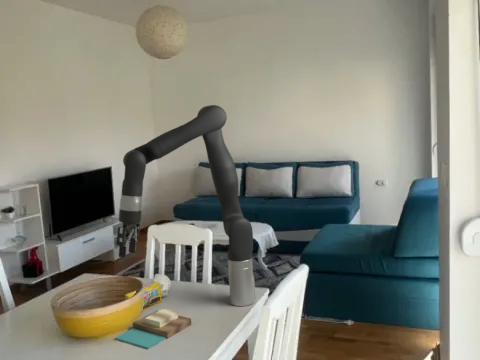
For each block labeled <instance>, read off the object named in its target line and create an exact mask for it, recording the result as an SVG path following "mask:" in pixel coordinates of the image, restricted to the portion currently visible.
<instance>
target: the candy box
mask: <svg viewBox="0 0 480 360" xmlns="http://www.w3.org/2000/svg"><path fill="white" fill-rule="evenodd" d="M143 288H144V306H143V311H145V310H148V309H150V308H153V307H154V306H156V305H158V304H160V303H162V297H161V285H160V283H159V282H156V283H154V284H151V283H150V284H149V285H146V286H144V287H143ZM135 293H136V290H134V291H131V292H128V293H126V294H125V295H124V296H125V297H124V298H125V300H126V299H128V298H130V297H132V296H133V295H134V294H135Z"/></svg>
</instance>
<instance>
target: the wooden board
mask: <svg viewBox="0 0 480 360" xmlns="http://www.w3.org/2000/svg"><path fill="white" fill-rule="evenodd" d="M158 311H159V310H155V311H153V312H151V313H150V314H147V315H145V316H143V317H142V318H140V319H138V320H136V321H133V322H132V329H133V328H134V329H138V330H141V331H145V332H149V333H152V334H156V335H159V336H163V337H166V339H167V340H168V339H170V338H171V337H172V336H175V335H177V334H178V333H179V332H180V333H181V331H183V330H185V329H186V328H188V327H190V326H192V318H190V317H186V316H182V315H178V318H177V319H175V320H173V321H171V322H170V323H168V324H166V325H164V326H162V327H161V328H159V327H155V326H152V325H148V324H145V318H146V317H148V316H150V315H152V314H154V313H156V312H158Z"/></svg>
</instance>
